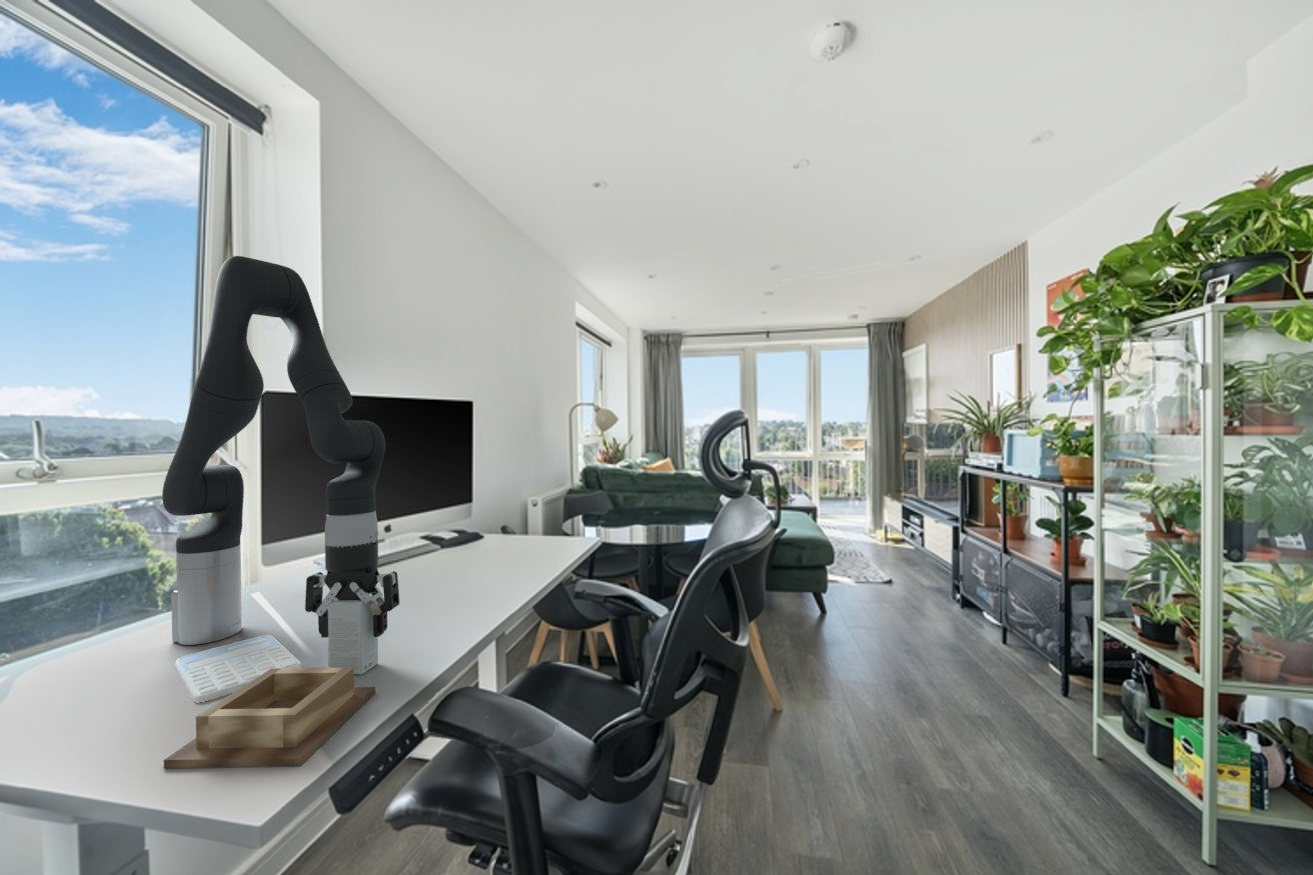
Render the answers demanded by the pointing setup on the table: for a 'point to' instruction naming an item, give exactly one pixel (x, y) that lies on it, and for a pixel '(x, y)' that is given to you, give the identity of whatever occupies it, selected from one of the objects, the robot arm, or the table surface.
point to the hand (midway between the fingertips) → (353, 635)
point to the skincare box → (351, 636)
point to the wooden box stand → (273, 719)
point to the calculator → (231, 666)
